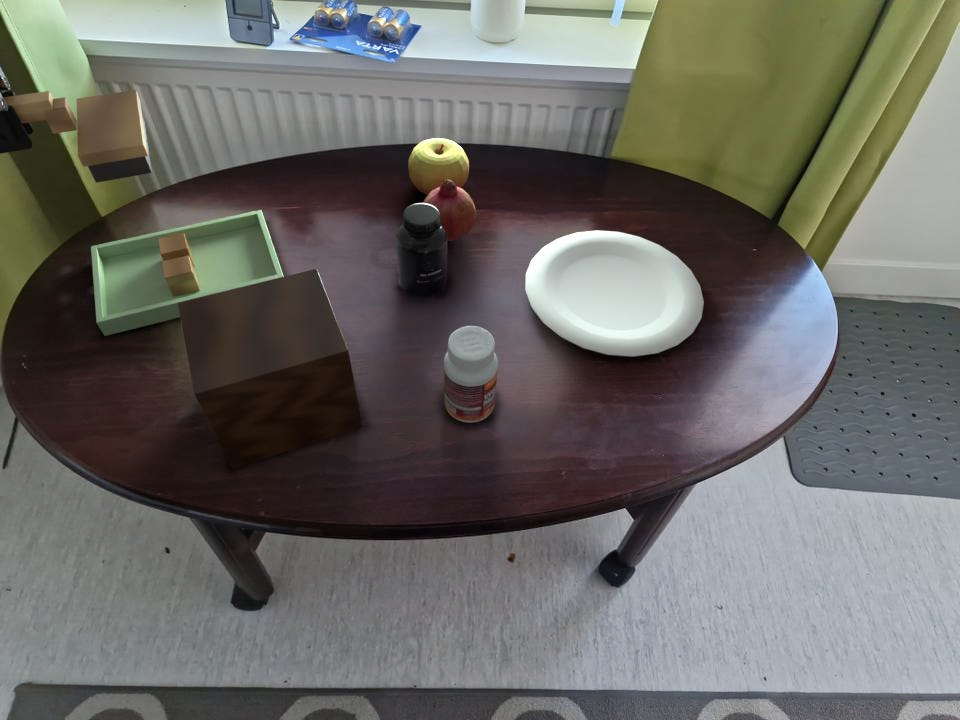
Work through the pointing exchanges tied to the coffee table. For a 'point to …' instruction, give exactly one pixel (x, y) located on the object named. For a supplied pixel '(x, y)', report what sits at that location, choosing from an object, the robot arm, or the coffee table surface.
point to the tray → (140, 277)
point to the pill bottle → (470, 374)
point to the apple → (437, 164)
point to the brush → (95, 129)
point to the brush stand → (270, 366)
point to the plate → (614, 293)
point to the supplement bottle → (422, 251)
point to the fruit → (453, 209)
